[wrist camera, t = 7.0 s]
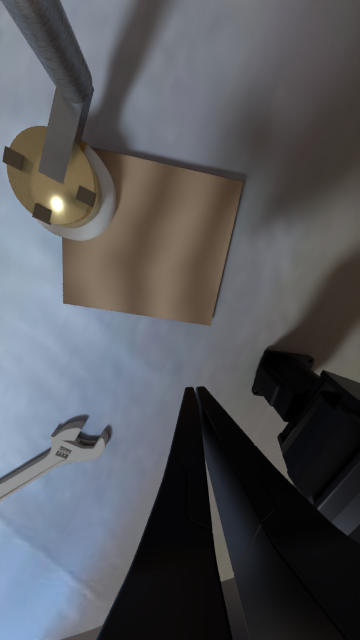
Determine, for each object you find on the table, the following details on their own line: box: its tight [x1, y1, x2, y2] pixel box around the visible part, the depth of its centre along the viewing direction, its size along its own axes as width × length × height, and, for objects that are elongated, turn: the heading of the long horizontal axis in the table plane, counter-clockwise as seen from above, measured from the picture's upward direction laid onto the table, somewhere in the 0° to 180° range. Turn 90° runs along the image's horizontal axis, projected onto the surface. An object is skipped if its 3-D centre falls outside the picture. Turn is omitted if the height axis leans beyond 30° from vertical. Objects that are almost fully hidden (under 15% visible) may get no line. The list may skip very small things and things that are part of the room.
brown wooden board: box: [31, 140, 243, 326], centre depth 17 cm, size 19×14×2 cm
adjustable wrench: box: [0, 420, 108, 502], centre depth 25 cm, size 25×6×2 cm, turn 120°
